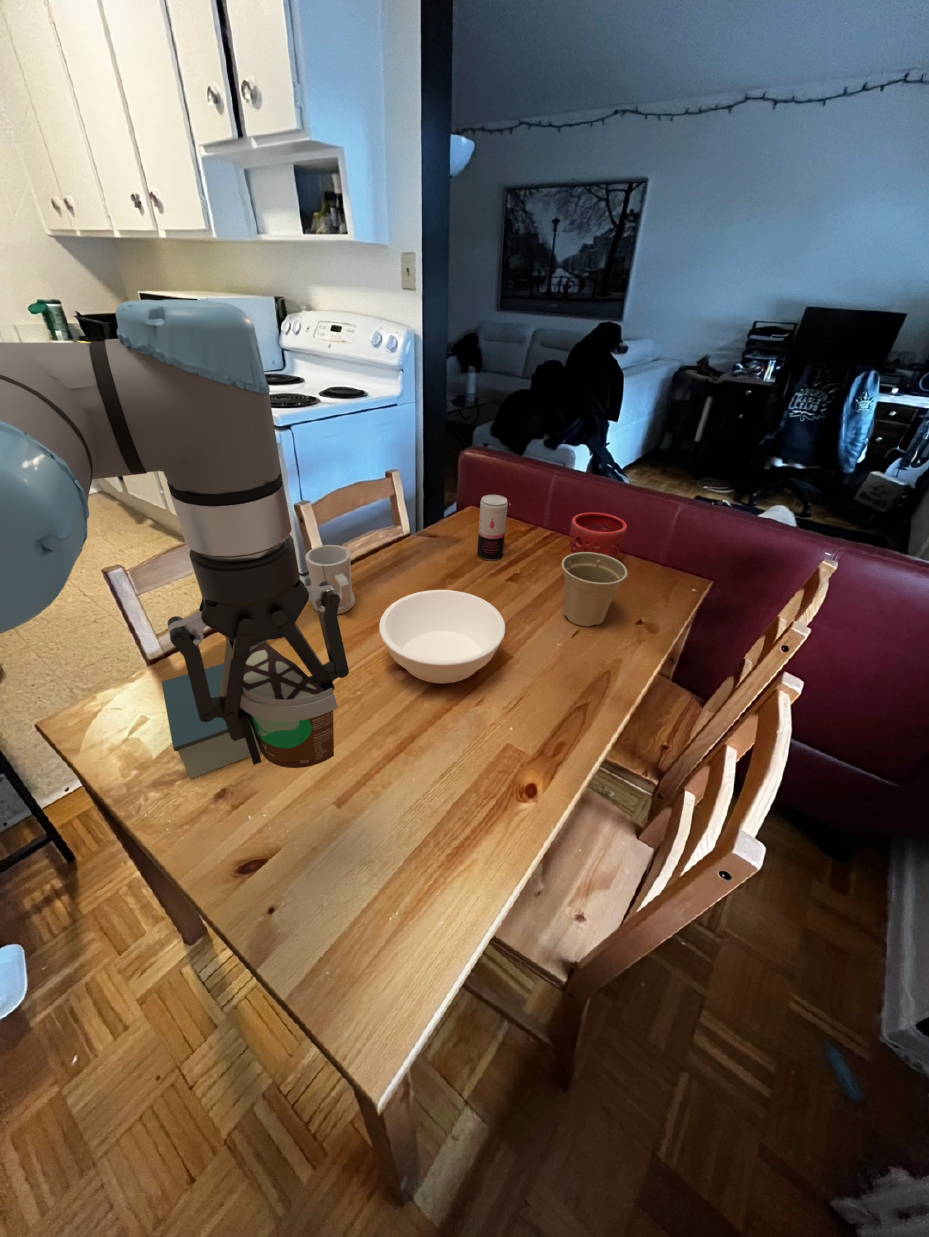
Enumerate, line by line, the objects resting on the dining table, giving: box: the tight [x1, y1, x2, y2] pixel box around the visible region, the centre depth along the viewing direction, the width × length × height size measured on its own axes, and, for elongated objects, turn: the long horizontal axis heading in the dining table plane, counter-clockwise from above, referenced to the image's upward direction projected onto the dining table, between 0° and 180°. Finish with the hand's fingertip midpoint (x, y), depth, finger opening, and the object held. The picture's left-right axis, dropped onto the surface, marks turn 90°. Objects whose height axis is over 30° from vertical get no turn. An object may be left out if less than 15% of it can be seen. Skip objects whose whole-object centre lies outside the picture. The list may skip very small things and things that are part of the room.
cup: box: [304, 544, 356, 615], centre depth 103 cm, size 10×9×12 cm
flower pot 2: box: [560, 552, 628, 628], centre depth 104 cm, size 13×13×12 cm
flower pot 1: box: [569, 511, 628, 559], centre depth 123 cm, size 13×13×12 cm
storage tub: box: [161, 662, 261, 780], centre depth 76 cm, size 17×15×7 cm
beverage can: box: [476, 494, 509, 561], centre depth 124 cm, size 7×6×15 cm
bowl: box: [378, 589, 506, 684], centre depth 91 cm, size 22×22×8 cm
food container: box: [239, 640, 338, 769], centre depth 49 cm, size 12×6×10 cm, turn 49°
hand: (289, 740), depth 52 cm, fingers closed on food container, 6 cm apart
